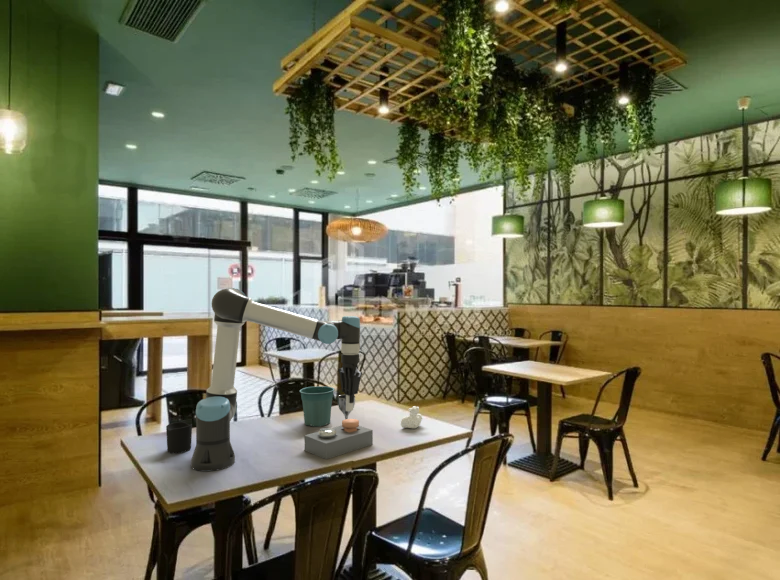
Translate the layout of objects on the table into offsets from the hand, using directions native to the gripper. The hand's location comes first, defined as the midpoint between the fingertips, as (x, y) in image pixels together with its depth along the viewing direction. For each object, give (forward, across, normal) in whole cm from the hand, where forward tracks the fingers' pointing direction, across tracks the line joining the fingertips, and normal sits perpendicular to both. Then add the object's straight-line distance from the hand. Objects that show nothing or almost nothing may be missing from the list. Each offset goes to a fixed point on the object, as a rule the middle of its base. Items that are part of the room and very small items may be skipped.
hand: (349, 410), depth 197 cm
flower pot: (+14, +34, -9) cm, 38 cm away
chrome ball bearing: (+13, 0, +11) cm, 17 cm away
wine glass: (+14, +17, -13) cm, 25 cm away
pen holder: (+16, +43, +52) cm, 69 cm away
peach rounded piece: (+12, 0, -1) cm, 12 cm away
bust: (+14, -3, -36) cm, 38 cm away
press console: (+14, 0, +5) cm, 15 cm away
